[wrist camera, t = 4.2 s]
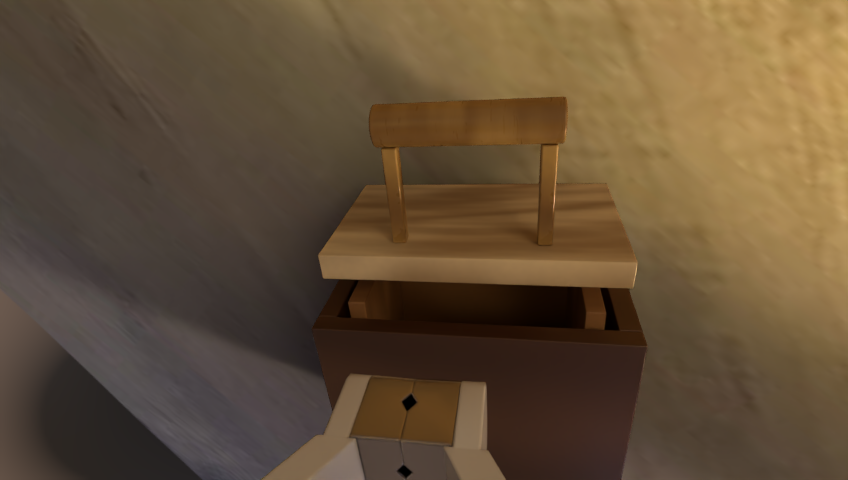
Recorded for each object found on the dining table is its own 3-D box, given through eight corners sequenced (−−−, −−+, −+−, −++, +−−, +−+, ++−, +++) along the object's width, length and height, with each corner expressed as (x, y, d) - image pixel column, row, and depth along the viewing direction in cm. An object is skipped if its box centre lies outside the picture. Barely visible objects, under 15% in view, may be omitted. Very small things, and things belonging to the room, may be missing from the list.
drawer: (349, 75, 23) (286, 117, 17) (621, 61, 21) (664, 104, 15) (395, 376, 33) (366, 472, 27) (582, 389, 31) (598, 498, 25)
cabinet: (368, 227, 29) (310, 328, 21) (609, 229, 26) (648, 346, 18) (396, 408, 36) (362, 532, 29) (584, 424, 34) (604, 565, 26)
